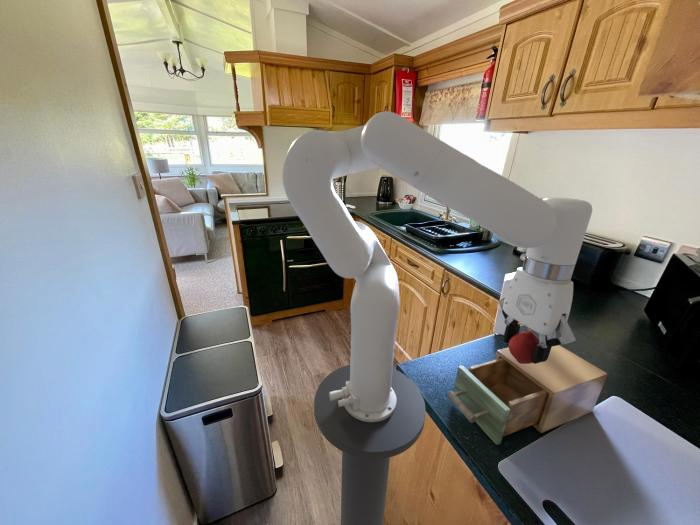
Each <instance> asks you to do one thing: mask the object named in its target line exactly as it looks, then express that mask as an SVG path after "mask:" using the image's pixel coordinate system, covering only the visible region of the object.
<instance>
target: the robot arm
mask: <svg viewBox="0 0 700 525" xmlns="http://www.w3.org/2000/svg"><path fill="white" fill-rule="evenodd" d="M282 165H283V166H282V185H283V189H284V193H285V195H286V198H287V199H288V202H289V203H290V205H291V207H292V208H293V210H294V211H295V213H296V215H297V216H298V218H299V220H300V221H301V222H302V224H303V225H304V227H305V229H306V231H307V232H308V234H309V235H310V237H311V239H312V240H313V242H314V244H315V245H316V247H317V248H318V250H319V251H320V253H321V255H322V256H323V258H324V259H325V261H326V263H327V265H328V266H329V267H330V269H331V270H332V271H333V273H335V274H336V275H338V276H339V277H341V278H343V279H354V280H355V282H354V287H353V290H352V294H351V300H350V310H349V312H350V360H349V362H350V364H349V365H350V381H347V382H346V387H342V390H338V391H337V390H336V391H332V392H329V397H330V401H334V400H338V399H340V398H343V399H342V400H338V405H339V407H342V406H344V407H345V409H346V410H347V411H348V413H349V414H350V415H352V416H353V417H355V418H356V419H358V420H361V421H365V422H379V421H382V420H385V419H386V418H388V417H389V416H391V415H392V413H393V412H394V410H395V408H396V400H397V398H396V394H395V392H394V390H393V389H392V388H391V381H392V370H393V369H394V360H395V359H394V358H395V349H396V348H395V347H396V337H397V328H398V323H399V322H398V321H399V316H400V308H401V307H400V306H401V305H400V304H401V303H400V302H401V300H400V288H399V286H400V285H399V276H398V273H397V271H396V269H395V267H394V265H393V263H392V262H391V260H390V258H389V257H388V255H387V253H386V251H385V250H384V248H383V247H382V245H381V243H380V241H379V240H378V238H377V236H376V235H375V233H374V232H373V230H372V229H371V228H370V227H369V226H368V225H367V224H365V223H363V222H361V221H357V220H354V219H353V217H352V215H351V214H350V212H349V211H348V209H347V206H346V205H345V204H344V201H342V199H341V198H340V196H339V195H338V193H337V192H336V190H335V188H334V185H333V180H334V179H338V178H342V177H345V176H349V175H353V174H358V173H362V172H366V171H370V170H374V169H377V168H381V169H382V170H384V171H386V172H387V173H389V174H390V175H393V176H394V177H396V178H397V179H400V180H401V181H403V182H404V183H406V184H408V185H410V186H411V187H413V188H414V189H416V190H417V191H419V192H421V193H423V194H424V195H425V196H427V197H429V198H431V199H432V200H434V201H436V202H437V203H439V204H441V205H442V206H445V207H447V208H448V209H451V210H453V211H455V212H456V213H459V214H461V215H462V216H464V217H465V218H467V219H469V220H470V221H472V222H474V223H475V224H477V225H479V226H480V227H483V228H484V229H486V230H488V232H490V233H492V234H494V235H495V236H497V237H499V238H501V239H502V240H504V241H505V242H507V243H508V244H510V245H512V246H515V247H517V248H520V249H526V252H525V253H521V254H520V256H519V259H520V260H521V261H523V263H522V266H520V267H517V268H518V269H516V270H515V272H516V273H515V275H514V276H513V278H512V281H511V283H510V285H509V288H508V291H507V294H506V297H505V298H503V299H500V298H499V299H498V305H500V307H501V309H502V313H503V316H504V318H505V321H504V323H505V324H506V329H505V333H504V335H503V339H502V343H504V344H509V341H510V339H511V337H512V336H514V335H515V334H516V333H519V332H520V329H521V324H522V325H523V326H525V327H526V328H527V329H530V330H531V331H532V332H533V331H534V332H535V333H537V334H538V339H539V341H540V344H537V345H536V346H535V350H534V353H533V356H532V359H531V361H532V363H534V364H536V363H540V362H544V361H546V360H547V359H548V357H549V354H550V350H551V347H552V346H557V345H560V346H561V345H567V344H572V343H575V342H576V340H577V339H576V337H575V335H574V333H573V330H572V328H571V326H570V325H569V323H568V320H569V318H570V317H569V316H570V313H571V308H572V303H573V297H574V282H573V281H572V276H573V274H574V270H575V267H576V264H577V261H578V258H579V255H580V252H581V248H582V245H583V242H584V239H585V235H586V233H587V230H588V226H589V224H590V220H591V217H592V215H593V214H592V213H593V206H592V204H591V203H590V202H589V201H586V200H583V199H578V198H572V197H571V198H570V197H548V198H545V197H538V196H537V195H536V194H534V193H532V192H531V191H529V190H527V189H525V188H524V187H522V186H520V184H518V183H516V182H514V181H512V180H510V179H508V178H507V177H505V176H503V175H501V174H500V173H498V172H495V171H494V170H492V169H491V168H489V167H487V166H485V165H483V164H481V163H480V162H478V161H477V160H475V159H474V158H472V157H470V156H468V155H467V154H464V153H462V152H461V151H460V150H458V149H456V148H455V147H453V146H451V145H450V144H448V143H446V142H445V141H443V140H441V139H440V138H438V137H436V136H435V135H433V134H431V133H430V132H429V131H427V130H425V129H423V128H422V127H421V126H418V125H416V123H413V122H412V121H410V120H408V119H407V118H405V117H404V116H402V115H400V114H398V113H396V112H393V111H388V110H387V111H386V110H384V111H380V112H377V113H375V114H374V115H372V116H371V117H370V118H369V119H368V120H367V121H366V123H365V124H363V125H359V126H357V127H353V128H349V129H346V130H342V131H339V132H334V133H332V132H330V131H327V130H323V129H311V130H307V131H305V132H303V133H301V134H300V135H299V136H297V138H296V139H295V140H294V141H293V142H292V143H291V145H290V147H289V148H288V150H287V152H286V154H285V157H284V162H283V164H282ZM557 332H559V333H560V336H559V337H557V334H556V333H557ZM547 338H548V339H547Z"/></svg>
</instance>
